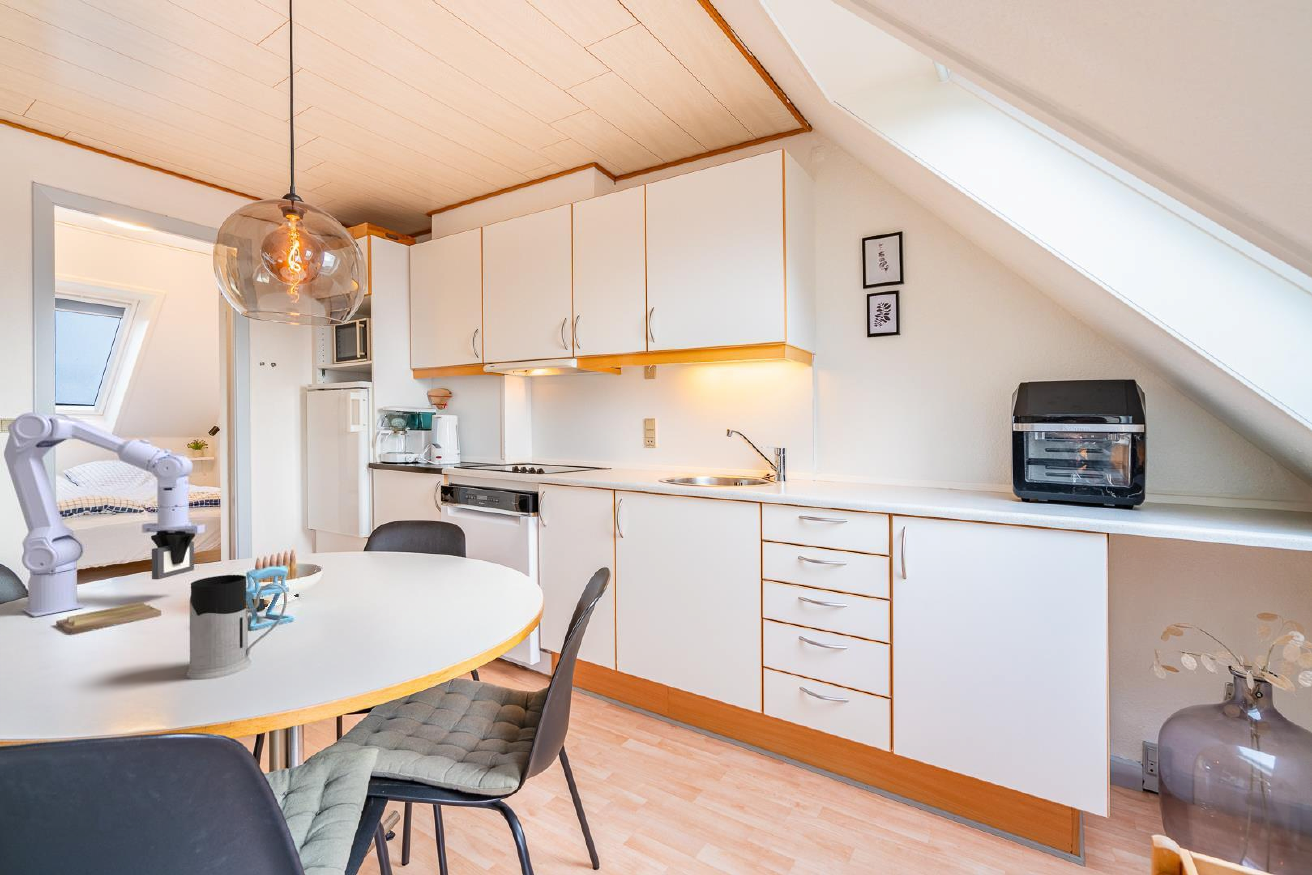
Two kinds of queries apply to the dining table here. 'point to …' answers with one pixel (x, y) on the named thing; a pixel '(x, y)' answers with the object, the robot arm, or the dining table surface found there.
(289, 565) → the ammunition clip
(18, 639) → the dining table surface
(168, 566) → the grey upright slab
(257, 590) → the chair
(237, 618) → the glass holder
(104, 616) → the board
